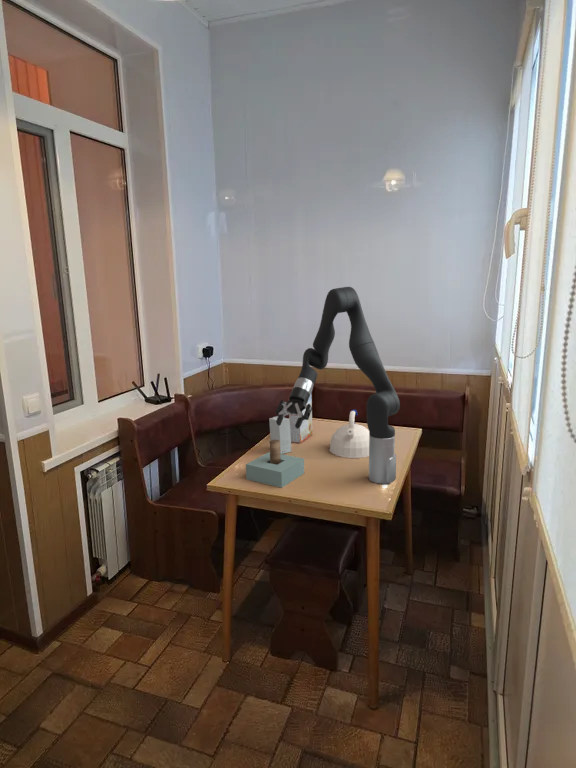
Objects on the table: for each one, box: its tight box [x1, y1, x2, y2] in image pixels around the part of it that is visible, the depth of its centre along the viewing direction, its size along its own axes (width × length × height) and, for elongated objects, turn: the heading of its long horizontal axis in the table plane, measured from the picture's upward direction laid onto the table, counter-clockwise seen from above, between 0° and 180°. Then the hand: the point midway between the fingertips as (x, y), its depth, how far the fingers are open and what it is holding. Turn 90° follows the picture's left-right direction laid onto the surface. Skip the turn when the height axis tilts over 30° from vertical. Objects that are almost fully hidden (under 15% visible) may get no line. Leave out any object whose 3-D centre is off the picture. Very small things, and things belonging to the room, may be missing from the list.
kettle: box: [329, 409, 369, 459], centre depth 222 cm, size 20×21×18 cm
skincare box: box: [268, 415, 292, 455], centre depth 223 cm, size 8×6×15 cm
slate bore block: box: [245, 451, 305, 489], centre depth 196 cm, size 16×16×6 cm
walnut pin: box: [269, 439, 281, 465], centre depth 196 cm, size 4×4×13 cm
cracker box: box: [287, 394, 313, 444], centre depth 239 cm, size 14×6×21 cm, turn 154°
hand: (287, 426), depth 201 cm, fingers open, 8 cm apart
